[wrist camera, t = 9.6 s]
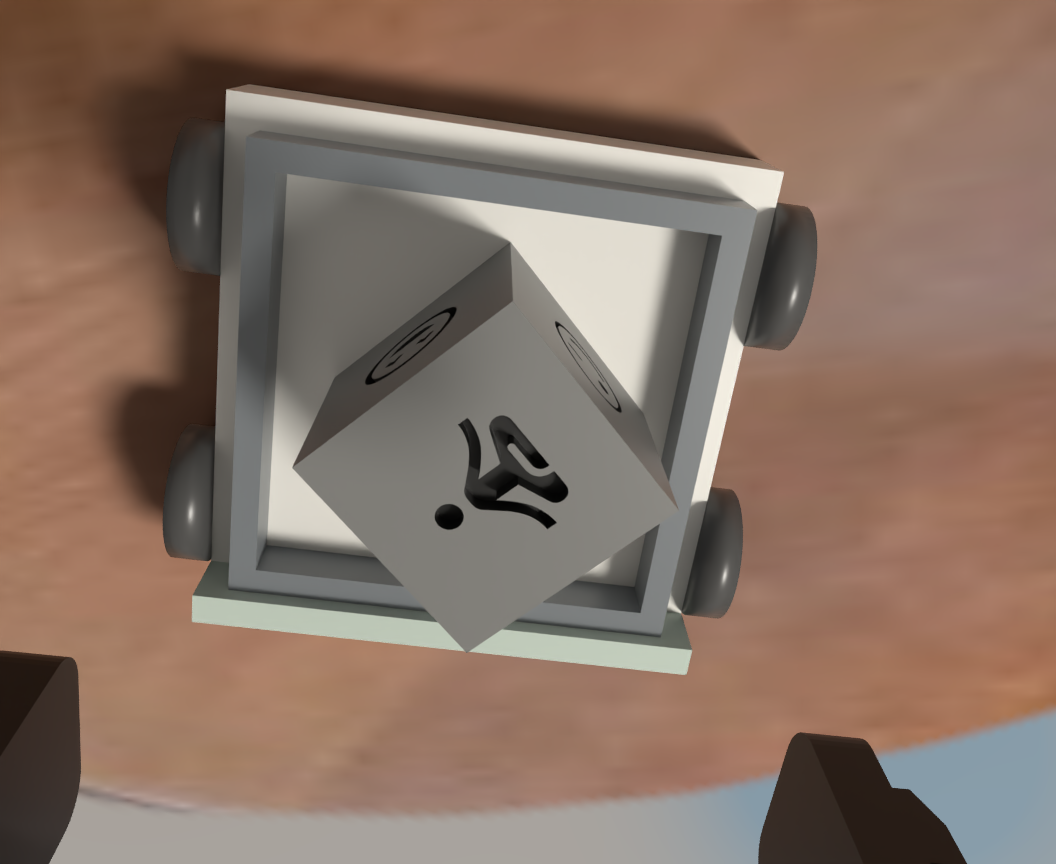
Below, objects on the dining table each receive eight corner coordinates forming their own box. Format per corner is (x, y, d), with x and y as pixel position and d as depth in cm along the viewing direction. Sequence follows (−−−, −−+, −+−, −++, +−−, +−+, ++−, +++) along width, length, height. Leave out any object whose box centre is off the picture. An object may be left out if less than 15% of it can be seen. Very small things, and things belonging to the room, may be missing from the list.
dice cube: (643, 413, 23) (679, 510, 19) (473, 533, 24) (466, 653, 20) (510, 241, 22) (512, 300, 17) (334, 377, 23) (292, 467, 18)
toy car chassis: (212, 78, 22) (160, 87, 19) (795, 165, 23) (844, 189, 20) (199, 542, 26) (156, 617, 23) (692, 599, 27) (719, 678, 24)
